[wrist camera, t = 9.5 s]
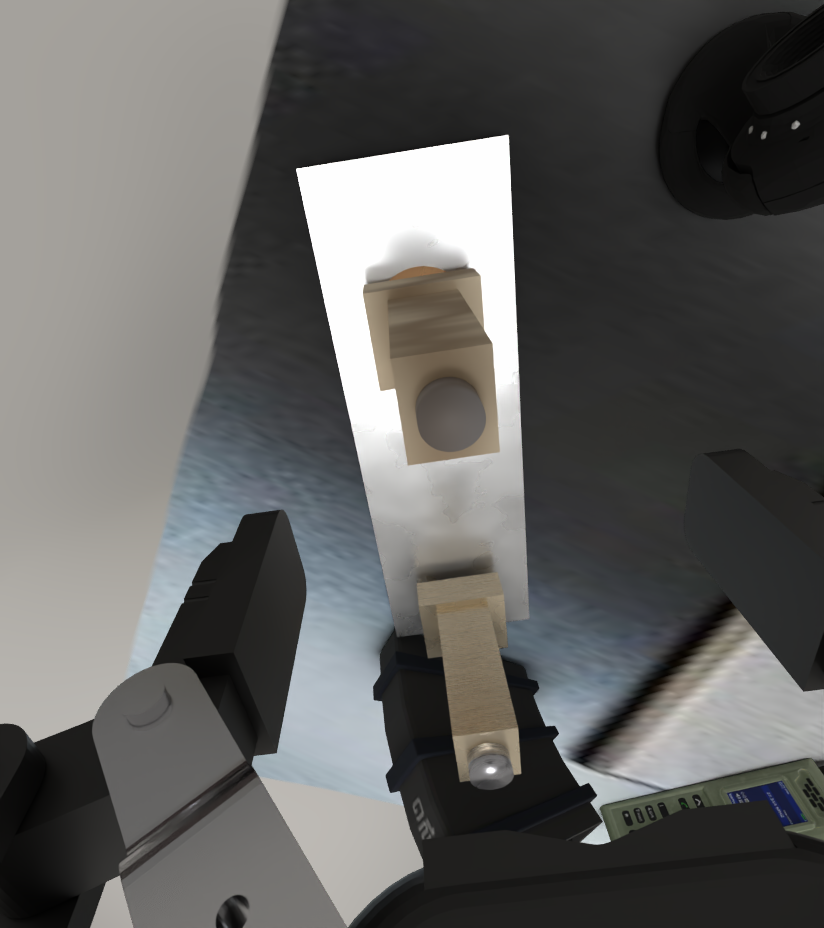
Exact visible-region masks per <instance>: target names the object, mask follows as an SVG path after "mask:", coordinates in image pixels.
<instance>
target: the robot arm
mask: <svg viewBox="0 0 824 928" xmlns="http://www.w3.org/2000/svg"><path fill="white" fill-rule="evenodd" d="M684 532H685V536H686V540H687V543H688V545H689V547H690V549H691V551H692V552H693V554H694V555H695V556H696V557H697V559H698V560H699V561H700V562H701V564H702V565H703V566H704V567H705V569H706V570H707V571H708V572H709V574H710V575H711V576H712V577H713V579H714V580H715V581H716V582H717V584H718V585H719V586H720V587H721V589H722V590H723V591H724V593H725V594H726V595H727V596H728V598H729V599H730V600H731V601H732V603H733V604H734V605H735V606H736V608H737V609H738V610H739V611H740V613H741V614H742V615H743V616H744V618H745V619H746V620H747V621H748V623H749V624H750V625H751V626H752V628H753V629H754V630H755V631H756V633H757V634H758V635H759V636H760V638H761V639H762V640H763V641H764V643H765V644H766V645H767V646H768V648H769V649H770V650H771V651H772V653H773V654H774V655H775V656H776V658H777V659H778V660H779V662H780V663H781V664H782V665H783V667H784V668H785V669H786V670H787V672H788V673H789V674H790V675H791V677H792V678H793V679H794V680H795V682H796V683H797V684H798V685H799V687H800V688H801V689H802V690H803V692H804V691H812V690H821V689H824V497H823V496H821V495H820V494H819V493H817V492H816V491H815V490H813V489H812V488H811V487H809V486H808V485H807V484H805V483H803V482H801V481H799V480H796V479H794V478H792V477H789V476H787V475H784V474H782V473H780V472H777V471H775V470H773V471H770V470H769V469H768V468H767V467H765V466H764V465H763V464H762V463H760V462H759V461H758V460H756V459H755V458H754V457H753V456H751V455H750V454H749V453H748V452H746V451H745V450H742V449H734V450H727V451H719V452H712V453H704V454H699V455H697V456H696V457H695V458H694V460H693V462H692V466H691V473H690V480H689V487H688V494H687V501H686V509H685V516H684ZM305 602H306V579H305V573H304V569H303V566H302V562H301V559H300V556H299V552H298V549H297V546H296V542H295V539H294V536H293V532H292V529H291V526H290V523H289V519H288V517H287V514H286V513H285V511H284V510H276V511H269V512H261V513H254V514H246V515H244V516H243V518H242V520H241V522H240V524H239V527H238V529H237V531H236V534H235V536H234V539H233V541H232V542H227V543H220V544H219V545H218V546H217V547H216V548H215V549H214V550H213V551H212V552H211V553H210V554H209V555H208V556H207V557H206V558H205V559H204V560H203V561H202V562H201V564H200V566H199V568H198V571H197V573H196V575H195V577H194V579H193V581H192V586H190V587H189V589H188V591H187V594H186V596H185V598H184V603H182V604H181V606H180V608H179V610H178V612H177V615H176V617H175V619H174V621H173V623H172V625H171V627H170V629H169V631H168V633H167V636H166V638H165V640H164V642H163V644H162V646H161V648H160V650H159V652H158V654H157V656H156V659H155V661H154V663H153V665H152V667H149V668H147V669H144V670H142V671H140V672H138V673H136V674H134V675H133V676H131V677H130V678H128V679H127V680H125V681H124V682H123V683H121V684H120V685H119V686H118V687H117V688H116V689H115V690H113V691H112V692H111V693H110V695H109V696H108V697H107V698H106V699H105V700H104V702H103V703H102V705H101V706H100V708H99V709H98V712H97V714H96V716H95V719H93V720H90V721H88V722H86V723H83V724H81V725H78V726H75V727H73V728H71V729H68V730H65V731H63V732H60V733H58V734H55V735H53V736H50V737H47V738H45V739H42V740H40V741H37V742H35V743H33V741H32V740H31V739H30V738H29V737H28V735H27V734H26V733H25V731H24V730H23V729H22V728H21V727H19V726H17V725H14V724H0V928H90V926H91V923H92V921H93V917H94V915H95V912H96V909H97V906H98V903H99V900H100V898H101V895H102V892H103V889H104V886H105V883H106V882H107V881H109V880H111V879H113V878H115V877H117V876H120V878H121V883H122V886H123V890H124V894H125V898H126V901H127V904H128V908H129V912H130V916H131V920H132V923H133V927H134V928H347V926H346V924H345V923H344V921H343V919H342V918H341V916H340V914H339V912H338V911H337V909H336V907H335V906H334V904H333V902H332V901H331V899H330V897H329V895H328V894H327V892H326V891H325V889H324V887H323V885H322V884H321V882H320V880H319V879H318V877H317V875H316V873H315V872H314V870H313V868H312V866H311V865H310V863H309V861H308V860H307V858H306V856H305V855H304V853H303V851H302V850H301V848H300V846H299V845H298V843H297V841H296V839H295V837H294V836H293V834H292V832H291V831H290V829H289V827H288V826H287V824H286V822H285V820H284V819H283V817H282V815H281V814H280V812H279V810H278V808H277V807H276V805H275V803H274V802H273V800H272V798H271V797H270V795H269V793H268V791H267V790H266V788H265V786H264V785H263V783H262V781H261V780H260V778H259V776H258V775H257V773H256V771H255V770H254V768H253V767H252V761H253V756H257V755H265V754H273V753H277V748H278V743H279V738H280V733H281V728H282V722H283V717H284V712H285V707H286V701H287V696H288V691H289V686H290V681H291V675H292V670H293V665H294V660H295V655H296V649H297V644H298V639H299V634H300V628H301V623H302V618H303V613H304V608H305ZM422 846H423V865H424V867H423V868H421V869H419V870H417V871H415V872H412V873H410V874H408V875H407V876H405V877H403V878H402V879H400V880H399V881H397V882H395V883H394V884H392V885H391V886H389V887H388V888H387V889H386V890H384V891H383V892H382V893H381V894H380V895H378V896H377V897H376V898H375V899H373V900H372V901H371V902H370V903H369V904H368V905H367V907H366V908H364V910H363V911H362V912H361V913H360V914H359V915H358V916H357V917H356V918H355V919H354V920H353V922H352V923H351V924H350V926H349V927H348V928H824V840H821V839H818V838H815V837H811V836H807V835H804V834H800V833H796V832H792V831H787V830H785V829H784V827H783V826H782V824H781V822H780V821H779V819H778V817H777V816H776V814H775V812H774V811H773V809H772V807H771V806H770V804H769V802H768V801H767V800H762V801H753V802H744V803H736V804H727V805H718V806H710V807H701V808H692V809H683V810H679V811H677V812H675V813H673V814H671V815H668V816H666V817H664V818H662V819H660V820H657V821H655V822H653V823H651V824H649V825H646V826H644V827H642V828H640V829H638V830H635V831H633V832H631V833H629V834H627V835H624V836H622V837H620V838H618V839H615V840H613V841H611V842H609V843H606V844H600V845H593V844H586V843H580V842H574V841H568V840H562V839H556V838H550V837H544V836H538V835H533V834H527V833H521V832H515V831H509V830H501V831H492V832H484V833H475V834H466V835H458V836H449V837H440V838H431V839H423V840H422Z"/></svg>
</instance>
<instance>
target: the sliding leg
mask: <svg viewBox="0 0 824 928" xmlns="http://www.w3.org/2000/svg"><path fill="white" fill-rule="evenodd" d="M362 295H363V300H364V306H365V311H366V317H367V323H368V328H369V334H370V339H371V345H372V350H373V356H374V361H375V367H376V372H377V378H378V384H379V389H380V391H386V390H393V389H395V390H396V397H397V403H398V409H399V415H400V421H401V427H402V433H403V439H404V445H405V451H406V457H407V463H408V466H409V465H416V464H423V463H430V462H436V461H443V460H450V459H457V458H464V457H470V456H477V455H484V454H491V453H498V452H500V445H499V429H498V414H497V399H496V384H495V369H494V354H493V343H492V341H491V340H490V338H489V337H488V335H487V334H486V332H485V327H484V313H483V299H482V286H481V275H480V274H479V273H478V272H477V271H476V270H475V269H474V268H469V269H462V270H456V271H449V272H443V273H437V274H430V275H424V276H417V277H411V278H404V279H398V280H391V281H385V282H379V283H372V284H366V285H364V286H363V293H362Z"/></svg>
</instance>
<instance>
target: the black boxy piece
mask: <svg viewBox="0 0 824 928" xmlns="http://www.w3.org/2000/svg"><path fill="white" fill-rule="evenodd" d="M502 664H503V668H504V672H505V676H506V680H507V684H508V688H509V692H510V697H511V701H512V705H513V709H514V713H515V717H516V721H517V725H518V733H519V748H520V763H521V774H516V775H514V777H513V779H512V781H511V782H510V783H509V784H507V785H506V786H504V787H502V788H499V789H494V790H483V789H479V788H477V787H475V786H473V785H472V783H471V782H470V781H464V782H460V779H459V773H458V767H457V760H456V754H455V748H454V742H453V736H452V728H451V720H450V712H449V704H448V696H447V688H446V680H445V673H444V665H443V657H435V658H428V655H427V650H426V644H425V639H424V636H422V635H419V634H417V635H410V636H403V637H397V634H396V630H395V631H394V632H393V634H392V636H391V637H390V639H389V640H388V642H387V644H386V645H385V647H384V649H383V650H382V652H381V654H380V670H381V675H380V677H379V678H378V680H377V681H376V683H375V684H374V686H373V695H374V700H377V701H382V703H383V713H384V723H385V732H386V736H387V741H388V745H389V749H390V754H391V758H392V763H393V766H392V767H391V769H390V770H389V771H388V773H387V774H386V780H387V783H388V787H389V791H390V793H392V792H397V791H400V793H401V797H402V800H403V804H404V808H405V812H406V815H407V819H408V822H409V826H410V830H411V832H412V835H413V837H414V839H415V842H416V844H417V847H418V849H419V851H420V854H421V856H422V859H423V846H422V840H423V839H431V838H440V837H449V836H458V835H466V834H475V833H484V832H492V831H501V830H509V831H515V832H521V833H527V834H533V835H538V836H544V837H550V838H556V839H562V840H568V841H574V842H581V841H582V840H583V839H584V838H585V837H586V836H587V835H589V834H590V833H591V832H592V831H593V830H594V829H595V828H596V827H597V826H599V825H600V824H601V823H602V822H603V821H602V820H601V818H600V817H599V815H598V814H597V812H596V811H595V809H594V808H593V806H592V805H591V803H590V802H591V801H592V800H593V799H595V798H596V796H597V794H596V793H595V791H594V790H593V788H592V787H591V785H590V784H589V783H587V784H585V785H583V786H579V785H578V783H577V781H576V780H575V778H574V777H573V775H572V774H571V772H570V771H569V769H568V768H567V766H566V765H565V763H564V762H563V760H562V758H561V756H560V754H559V752H558V750H557V748H556V746H555V744H554V742H553V740H554V739H555V738H556V737H557V735H558V734H559V733H558V731H557V729H556V727H555V726H547V727H546V726H545V724H544V721H543V719H542V717H541V714H540V712H539V710H538V707H537V704H536V702H535V699H534V696H533V695H534V694H535V693H536V692H537V691H538V689H539V685H538V682H537V681H534V680H530V679H528V677H527V674H526V670H525V668H524V667H523V666H521V665H518V664H514V663H511V662H508V661H504V660H502Z"/></svg>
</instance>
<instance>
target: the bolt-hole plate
mask: <svg viewBox="0 0 824 928" xmlns="http://www.w3.org/2000/svg"><path fill="white" fill-rule="evenodd" d="M296 171H297V175H298V180H299V185H300V189H301V194H302V199H303V203H304V208H305V213H306V217H307V222H308V226H309V231H310V236H311V240H312V245H313V250H314V254H315V259H316V264H317V268H318V273H319V277H320V282H321V287H322V291H323V296H324V301H325V305H326V310H327V315H328V319H329V324H330V328H331V333H332V338H333V342H334V347H335V352H336V356H337V361H338V366H339V370H340V375H341V379H342V384H343V389H344V393H345V398H346V403H347V407H348V412H349V417H350V421H351V426H352V430H353V435H354V440H355V444H356V449H357V454H358V458H359V463H360V468H361V472H362V477H363V481H364V486H365V491H366V495H367V500H368V505H369V509H370V514H371V519H372V523H373V528H374V532H375V537H376V542H377V546H378V551H379V556H380V560H381V565H382V569H383V574H384V579H385V583H386V588H387V593H388V597H389V602H390V607H391V611H392V616H393V620H394V625H395V630H396V634H397V637H403V636H410V635H417V634H424V639H425V644H426V650H427V655H428V658H435V657H443V665H444V673H445V680H446V688H447V696H448V704H449V712H450V720H451V728H452V736H453V742H454V748H455V754H456V760H457V767H458V773H459V779H460V782H464V781H470V782H471V783H472V785H473V786H475V787H477V788H479V789H483V790H494V789H499V788H502V787H504V786H506V785H507V784H509V783H510V782H511V781H512V779H513V777H514V775H516V774H521V763H520V748H519V733H518V725H517V721H516V717H515V713H514V709H513V705H512V701H511V697H510V692H509V688H508V684H507V680H506V676H505V672H504V668H503V664H502V660H501V656H500V652H499V649H500V648H507V647H508V643H507V630H506V622H511V621H518V620H525V619H529V602H528V578H527V555H526V532H525V508H524V485H523V462H522V438H521V415H520V391H519V368H518V345H517V321H516V298H515V275H514V251H513V228H512V204H511V181H510V158H509V135H504V136H498V137H492V138H486V139H480V140H473V141H467V142H461V143H455V144H448V145H442V146H436V147H430V148H424V149H417V150H411V151H405V152H399V153H392V154H386V155H380V156H374V157H368V158H361V159H355V160H349V161H343V162H337V163H330V164H324V165H318V166H312V167H305V168H299V169H296ZM469 268H474V269H475V270H476V271H477V272H478V273H479V274H480V275H481V286H482V299H483V313H484V327H485V332H486V334H487V335H488V337H489V338H490V340H491V341H492V343H493V354H494V369H495V384H496V399H497V414H498V429H499V445H500V452H498V453H491V454H484V455H477V456H470V457H464V458H457V459H450V460H443V461H436V462H430V463H423V464H416V465H409V466H408V463H407V457H406V451H405V445H404V439H403V433H402V427H401V421H400V415H399V409H398V403H397V397H396V390H395V389H393V390H386V391H380V389H379V384H378V378H377V372H376V367H375V361H374V356H373V350H372V345H371V339H370V334H369V328H368V323H367V317H366V311H365V306H364V300H363V295H362V293H363V286H364V285H366V284H372V283H379V282H385V281H391V280H398V279H404V278H411V277H417V276H424V275H430V274H437V273H443V272H449V271H456V270H462V269H469Z"/></svg>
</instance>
